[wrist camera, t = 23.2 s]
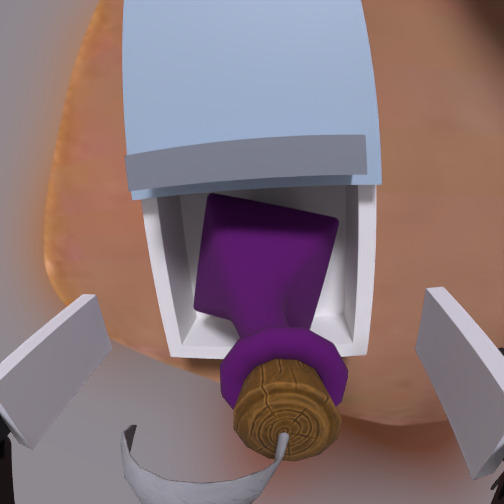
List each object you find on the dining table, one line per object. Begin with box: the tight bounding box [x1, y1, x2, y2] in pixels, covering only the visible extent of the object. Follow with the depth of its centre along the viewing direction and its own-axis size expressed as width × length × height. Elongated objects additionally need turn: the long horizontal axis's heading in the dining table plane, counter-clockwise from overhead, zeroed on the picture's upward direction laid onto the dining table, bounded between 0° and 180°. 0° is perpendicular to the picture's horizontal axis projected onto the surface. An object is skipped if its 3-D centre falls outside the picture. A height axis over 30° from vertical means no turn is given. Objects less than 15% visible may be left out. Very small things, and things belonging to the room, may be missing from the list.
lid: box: [122, 0, 382, 200], centre depth 12 cm, size 18×13×4 cm
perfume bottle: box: [121, 193, 348, 504], centre depth 13 cm, size 8×8×18 cm
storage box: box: [141, 185, 376, 359], centre depth 19 cm, size 18×13×4 cm
